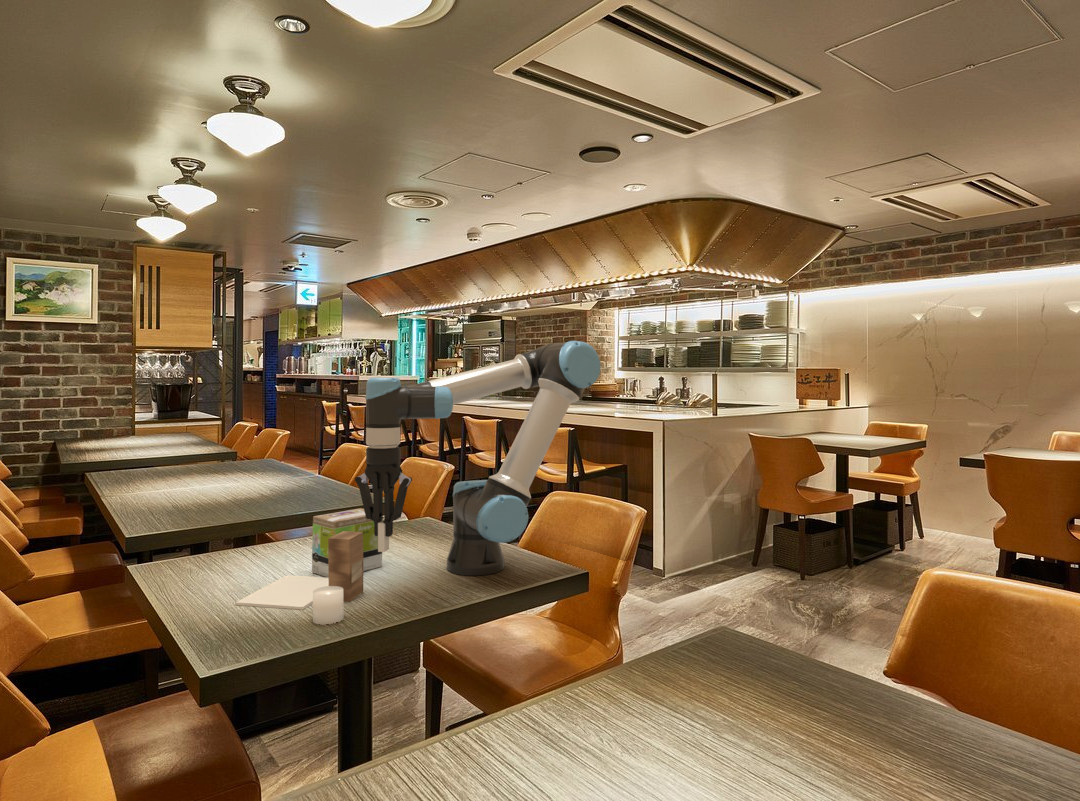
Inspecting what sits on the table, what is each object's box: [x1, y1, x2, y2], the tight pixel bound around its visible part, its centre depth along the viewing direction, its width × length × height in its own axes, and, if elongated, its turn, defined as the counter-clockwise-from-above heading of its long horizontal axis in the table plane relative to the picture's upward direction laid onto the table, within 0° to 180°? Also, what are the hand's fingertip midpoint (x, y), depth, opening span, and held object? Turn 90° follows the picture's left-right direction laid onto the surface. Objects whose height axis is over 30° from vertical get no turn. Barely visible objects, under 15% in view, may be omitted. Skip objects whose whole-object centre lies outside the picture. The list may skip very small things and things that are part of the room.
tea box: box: [311, 507, 384, 578], centre depth 168 cm, size 15×10×15 cm, turn 143°
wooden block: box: [328, 531, 364, 603], centre depth 148 cm, size 5×7×14 cm
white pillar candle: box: [312, 586, 345, 626], centre depth 134 cm, size 6×6×6 cm
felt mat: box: [235, 574, 329, 611], centre depth 150 cm, size 16×20×1 cm
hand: (383, 550), depth 146 cm, fingers closed
